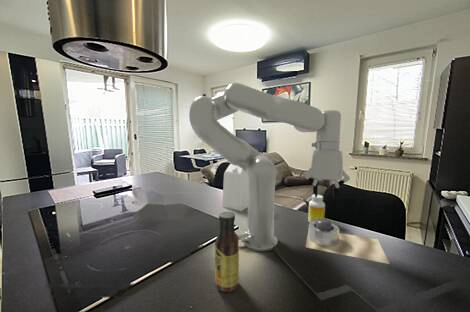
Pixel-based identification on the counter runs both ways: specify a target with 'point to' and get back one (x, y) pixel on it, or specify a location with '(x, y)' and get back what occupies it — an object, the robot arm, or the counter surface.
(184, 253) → the counter surface
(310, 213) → the supplement bottle
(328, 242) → the lens barrel
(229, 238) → the sauce bottle
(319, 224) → the grey rounded canister
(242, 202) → the milk
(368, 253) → the birch board
